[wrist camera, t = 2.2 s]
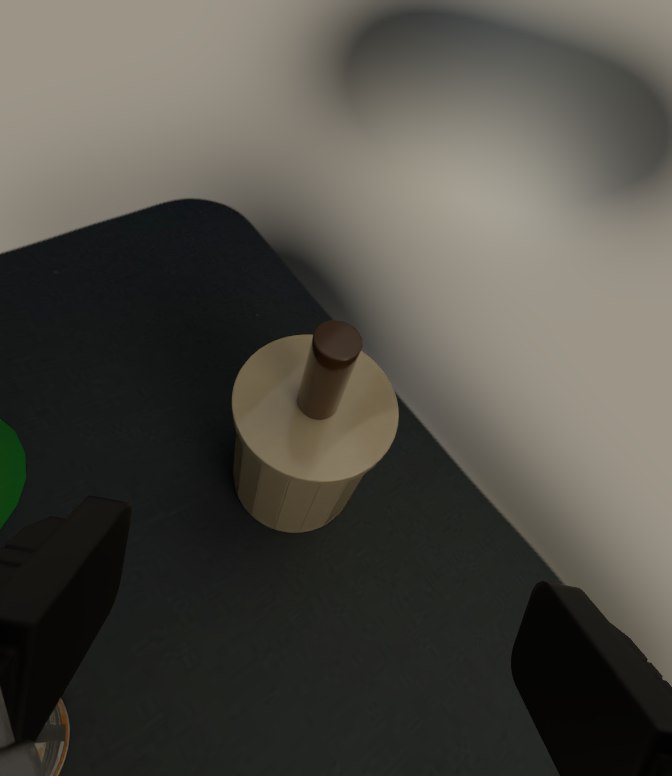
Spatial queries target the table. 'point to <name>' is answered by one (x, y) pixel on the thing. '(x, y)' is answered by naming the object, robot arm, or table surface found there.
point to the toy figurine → (10, 471)
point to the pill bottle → (54, 741)
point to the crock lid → (315, 407)
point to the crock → (286, 496)
